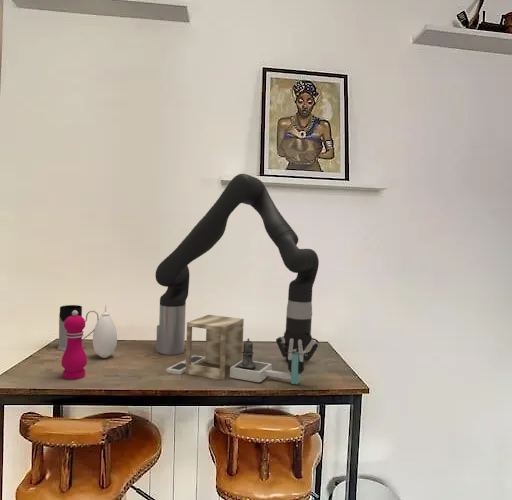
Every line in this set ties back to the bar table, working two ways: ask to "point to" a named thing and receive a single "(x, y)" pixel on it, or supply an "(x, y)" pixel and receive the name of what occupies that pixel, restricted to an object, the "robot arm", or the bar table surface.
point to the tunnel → (216, 345)
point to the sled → (266, 371)
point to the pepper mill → (74, 348)
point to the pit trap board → (181, 366)
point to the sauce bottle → (105, 336)
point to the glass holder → (64, 313)
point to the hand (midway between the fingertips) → (296, 372)
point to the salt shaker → (247, 357)
